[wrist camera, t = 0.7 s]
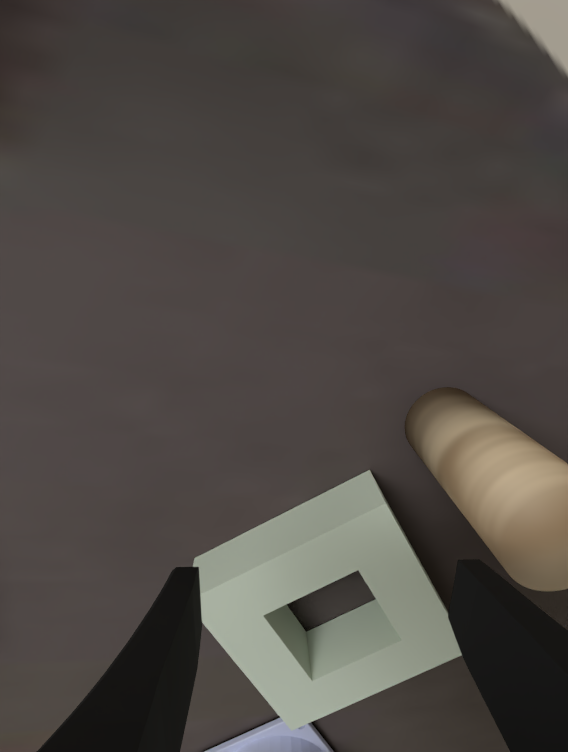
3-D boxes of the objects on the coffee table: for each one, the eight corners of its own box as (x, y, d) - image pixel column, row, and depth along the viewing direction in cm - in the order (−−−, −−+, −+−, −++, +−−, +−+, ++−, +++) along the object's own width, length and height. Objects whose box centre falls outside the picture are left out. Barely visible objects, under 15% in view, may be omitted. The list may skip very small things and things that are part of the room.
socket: (444, 606, 25) (468, 652, 22) (288, 678, 26) (291, 730, 23) (369, 469, 22) (386, 503, 19) (194, 557, 23) (185, 601, 20)
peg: (490, 435, 22) (639, 557, 13) (422, 469, 22) (524, 609, 14) (464, 373, 21) (608, 462, 12) (392, 410, 21) (483, 522, 13)
